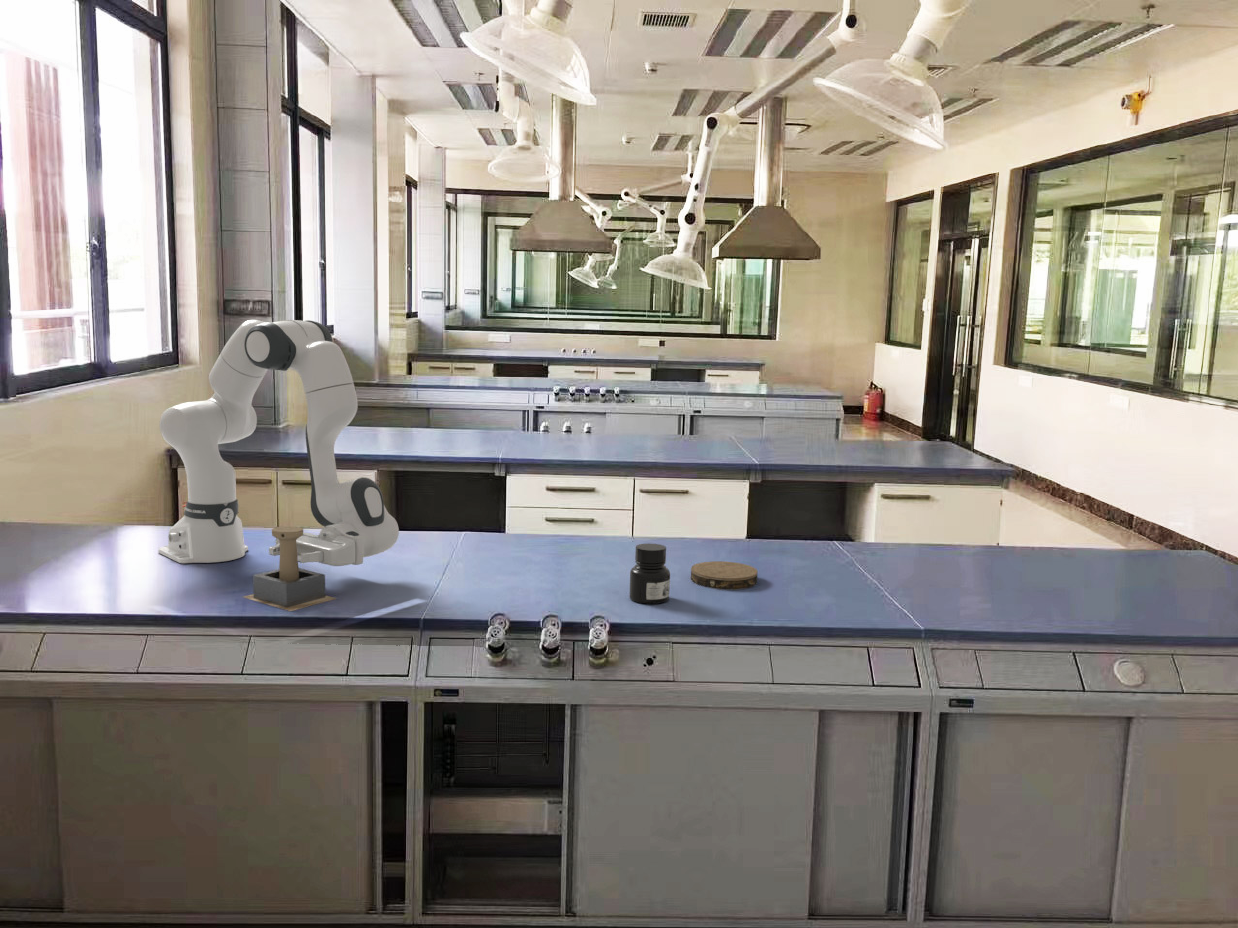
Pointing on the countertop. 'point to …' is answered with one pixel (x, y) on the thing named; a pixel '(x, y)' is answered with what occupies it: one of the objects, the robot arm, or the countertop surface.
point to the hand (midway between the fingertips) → (285, 555)
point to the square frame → (289, 588)
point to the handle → (288, 551)
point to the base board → (292, 608)
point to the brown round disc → (724, 575)
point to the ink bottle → (650, 575)
